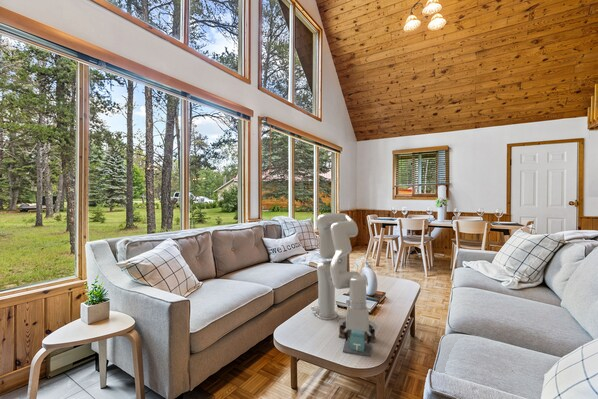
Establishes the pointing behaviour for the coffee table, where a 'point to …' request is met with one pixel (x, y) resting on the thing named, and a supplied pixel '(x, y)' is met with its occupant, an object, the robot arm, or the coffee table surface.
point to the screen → (341, 332)
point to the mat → (366, 351)
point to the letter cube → (357, 340)
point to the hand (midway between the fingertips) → (357, 341)
